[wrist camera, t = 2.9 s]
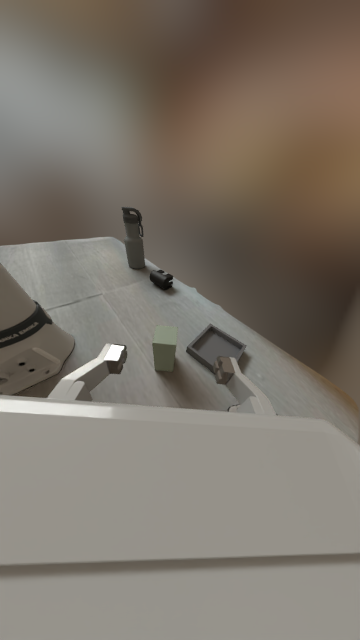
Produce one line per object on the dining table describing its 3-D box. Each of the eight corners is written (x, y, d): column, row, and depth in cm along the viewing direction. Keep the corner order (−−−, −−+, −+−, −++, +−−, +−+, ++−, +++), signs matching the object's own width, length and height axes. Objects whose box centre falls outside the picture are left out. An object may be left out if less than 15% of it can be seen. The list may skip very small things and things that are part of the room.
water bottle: (142, 261, 87) (136, 206, 67) (148, 267, 81) (143, 209, 62) (127, 263, 83) (115, 205, 63) (131, 270, 77) (121, 208, 58)
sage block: (172, 371, 36) (176, 345, 27) (154, 370, 36) (152, 342, 27) (174, 355, 40) (177, 327, 31) (157, 354, 40) (156, 325, 31)
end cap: (149, 284, 68) (148, 271, 63) (159, 280, 72) (159, 268, 68) (163, 292, 64) (163, 279, 59) (172, 287, 68) (173, 275, 63)
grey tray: (224, 381, 36) (228, 377, 34) (186, 351, 41) (187, 346, 39) (242, 350, 44) (246, 345, 42) (208, 328, 49) (210, 323, 47)
